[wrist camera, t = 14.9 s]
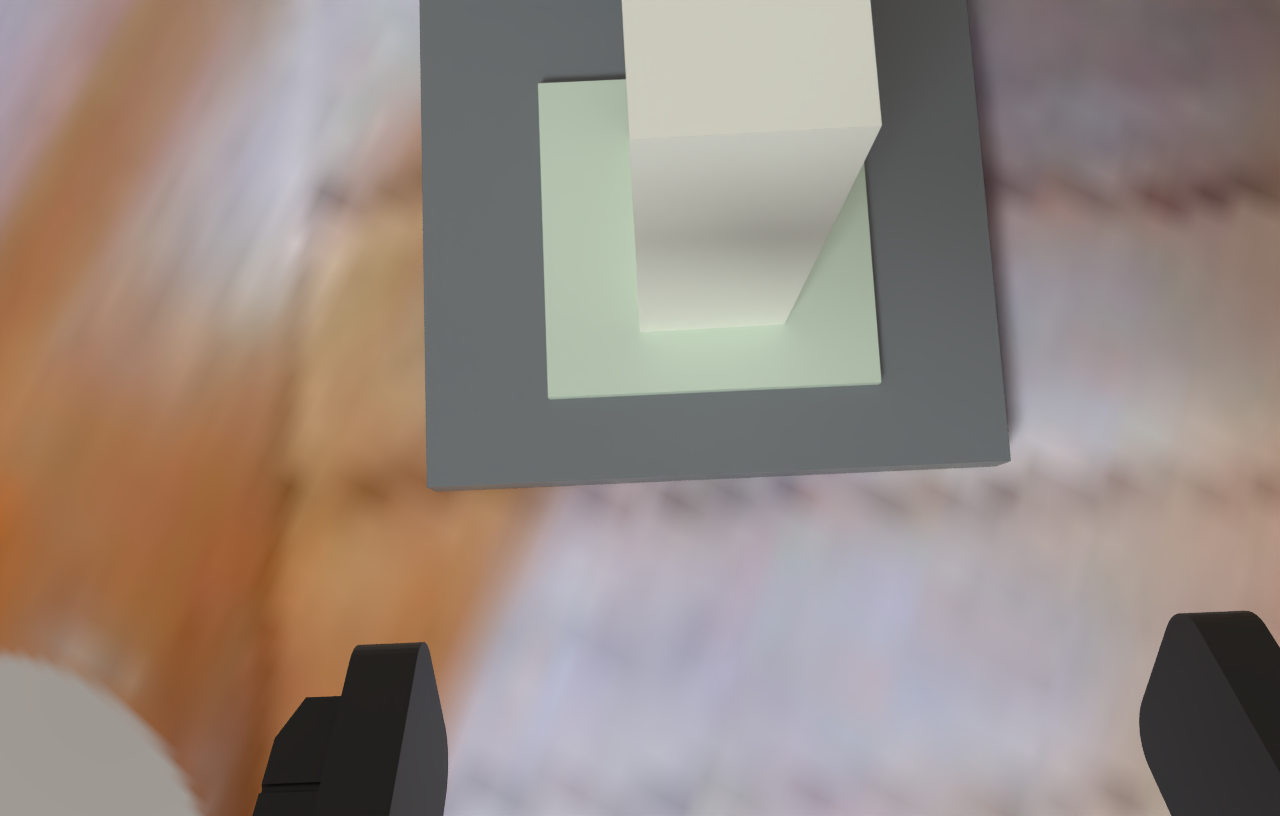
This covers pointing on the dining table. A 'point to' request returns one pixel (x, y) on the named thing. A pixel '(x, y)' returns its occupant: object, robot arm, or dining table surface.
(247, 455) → the dining table surface
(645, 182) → the cream rectangular block
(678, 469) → the grey socket base
